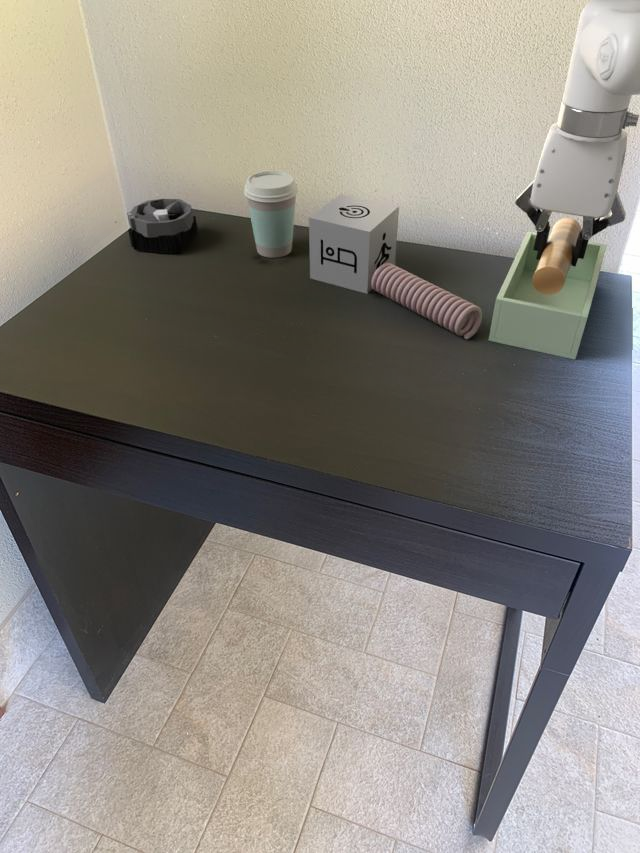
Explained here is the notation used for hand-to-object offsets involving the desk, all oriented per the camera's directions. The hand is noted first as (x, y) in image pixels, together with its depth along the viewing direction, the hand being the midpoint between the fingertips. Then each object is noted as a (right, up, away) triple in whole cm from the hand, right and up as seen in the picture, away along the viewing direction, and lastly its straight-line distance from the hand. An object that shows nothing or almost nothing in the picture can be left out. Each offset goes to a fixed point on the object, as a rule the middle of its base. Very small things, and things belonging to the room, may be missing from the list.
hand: (557, 257), depth 94 cm
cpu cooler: (-59, +8, +24) cm, 64 cm away
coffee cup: (-40, +6, +21) cm, 46 cm away
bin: (0, -6, +6) cm, 8 cm away
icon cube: (-27, +1, +15) cm, 31 cm away
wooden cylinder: (+1, -1, 0) cm, 2 cm away
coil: (-18, -7, +6) cm, 20 cm away
